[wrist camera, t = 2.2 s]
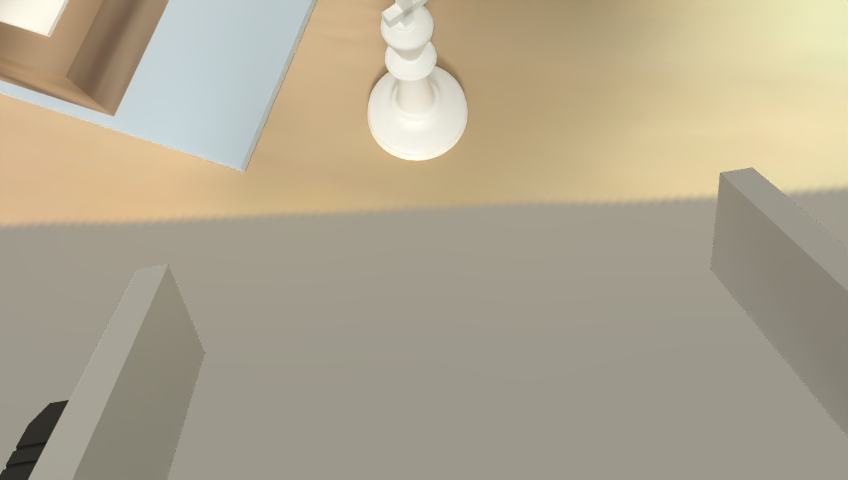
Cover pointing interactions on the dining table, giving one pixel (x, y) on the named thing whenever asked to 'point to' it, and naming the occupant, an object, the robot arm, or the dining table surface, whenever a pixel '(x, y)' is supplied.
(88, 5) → the walnut plinth
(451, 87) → the chess piece
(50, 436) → the robot arm
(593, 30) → the dining table surface
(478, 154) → the dining table surface
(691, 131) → the dining table surface
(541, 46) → the dining table surface
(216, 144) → the pale blue board
